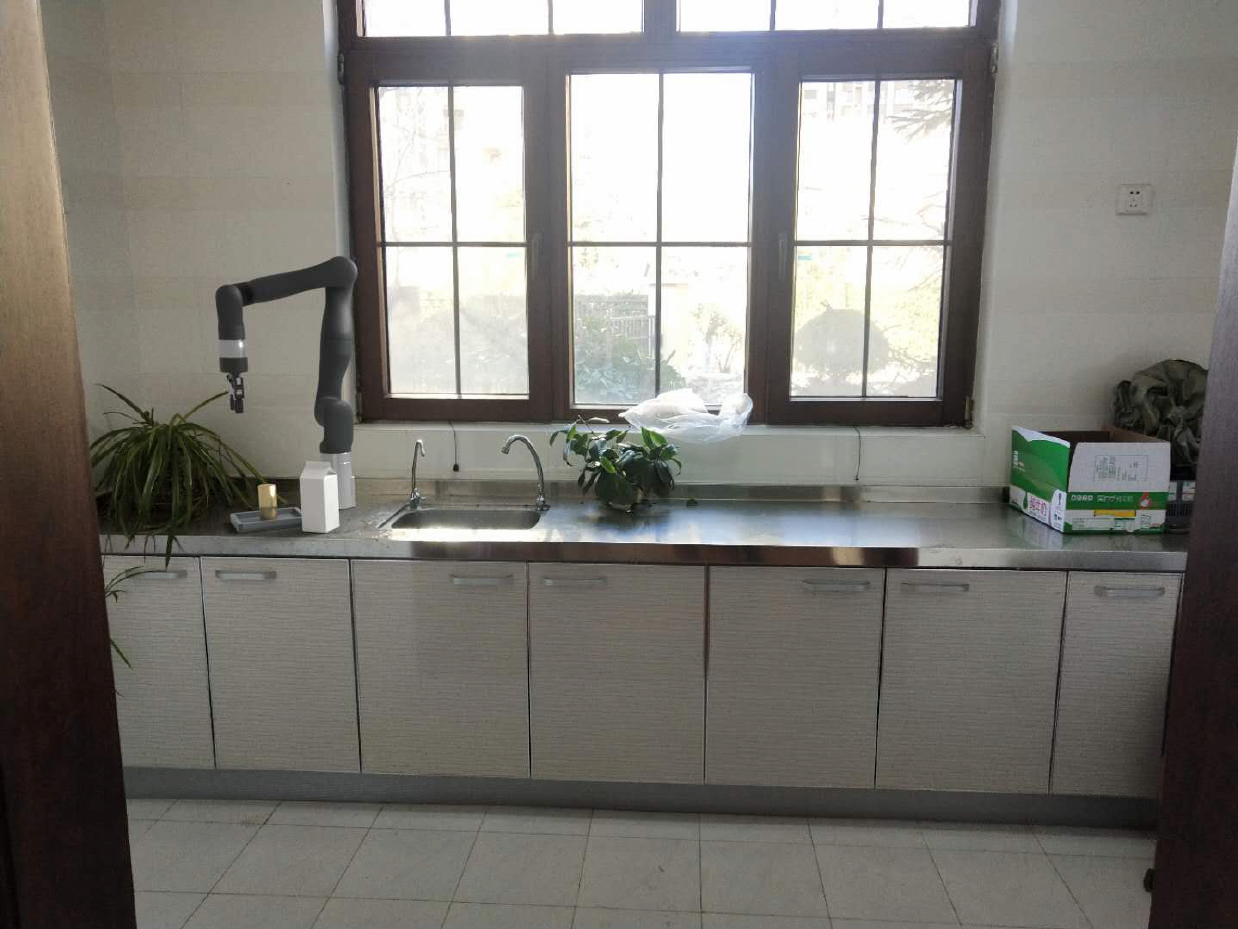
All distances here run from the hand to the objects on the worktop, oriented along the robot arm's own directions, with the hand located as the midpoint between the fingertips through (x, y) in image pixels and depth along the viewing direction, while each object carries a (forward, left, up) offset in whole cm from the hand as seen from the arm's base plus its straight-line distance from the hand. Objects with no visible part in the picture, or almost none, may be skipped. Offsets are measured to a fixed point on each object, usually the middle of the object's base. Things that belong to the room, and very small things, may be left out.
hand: (237, 411), depth 246 cm
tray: (-4, +18, -30) cm, 35 cm away
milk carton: (-15, +31, -30) cm, 46 cm away
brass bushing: (-4, +18, -29) cm, 34 cm away
